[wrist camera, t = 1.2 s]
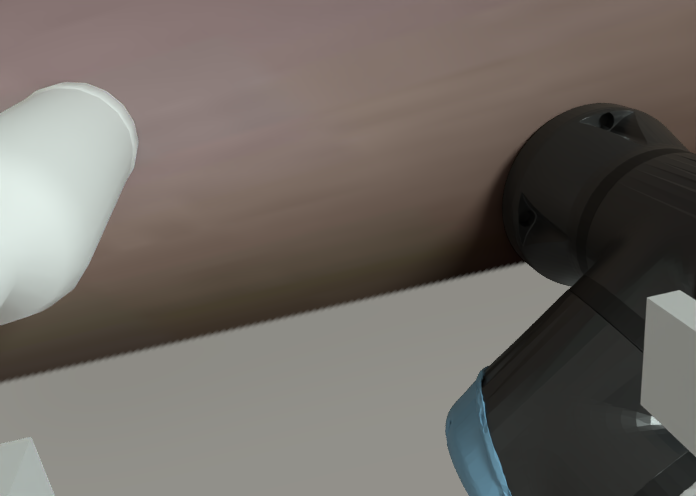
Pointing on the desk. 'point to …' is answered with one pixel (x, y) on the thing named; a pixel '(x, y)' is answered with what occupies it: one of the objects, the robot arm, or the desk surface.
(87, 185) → the bottle
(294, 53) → the desk surface
